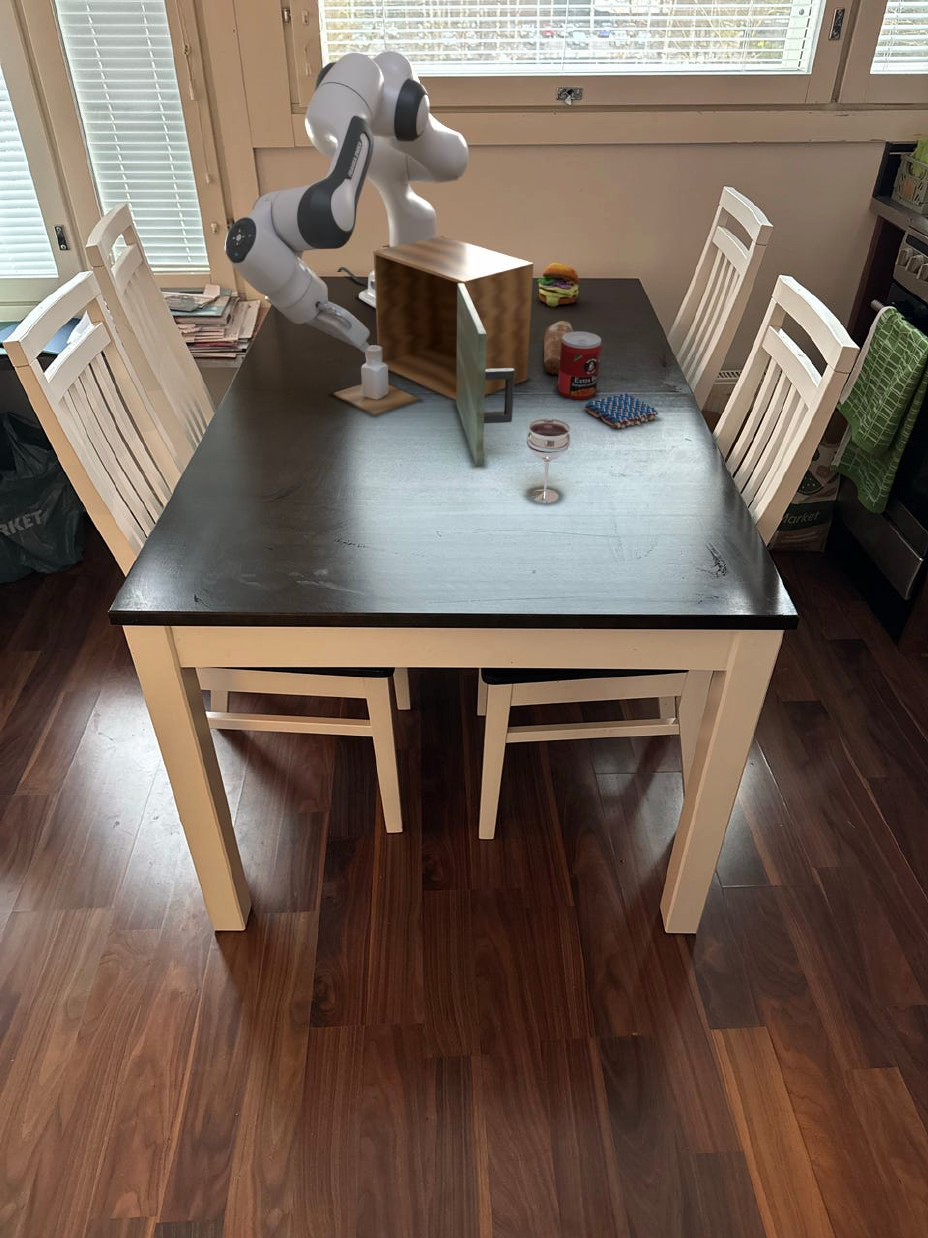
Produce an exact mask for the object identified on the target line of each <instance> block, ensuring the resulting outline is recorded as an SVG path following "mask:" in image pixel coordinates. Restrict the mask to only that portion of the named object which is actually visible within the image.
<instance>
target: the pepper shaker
mask: <svg viewBox="0 0 928 1238" xmlns="http://www.w3.org/2000/svg"><path fill="white" fill-rule="evenodd" d="M364 353H365V363H364V364H362V365H361V367H360V373H361V374H360V375H361V384H362V394H363V396H365V397H369V398H372V399H376V400H378V399H380V398H382V397H384V396H386V395H388V393H389V385H390V384H389V370H388V366H387V365H386V364H385V363H383V362H382V347H380V346H378V345H376V344H375V345H374V344H373V345H371V344H370V345H369V347H368V349H367V350H366V352H364ZM388 384H389V385H388Z"/></svg>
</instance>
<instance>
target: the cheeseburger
mask: <svg viewBox="0 0 928 1238" xmlns="http://www.w3.org/2000/svg"><path fill="white" fill-rule="evenodd" d="M542 277H543V278H538V280H537V283H538V286H539V289H538V291H539V294H538V299H539V300H540V301H542V302H543V303H544V304H546V305H547V306H549V307H552V308H555V307H557V306H560V305H568V304H573V303H575V302H576V300H577V297H578V295H579V290H578V289H579V285H578V284H579V283H581V280H580V279H579V274H578V271H577V270H576V269H575V268H574V267H571V266H568V265H566V264H564V263H559V262H553V263H550V264H548V266H547V267H546V268H545V269H544V270H543V273H542Z"/></svg>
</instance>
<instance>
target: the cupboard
mask: <svg viewBox="0 0 928 1238" xmlns="http://www.w3.org/2000/svg"><path fill="white" fill-rule="evenodd" d="M372 251H373V270H374V274H375V297H376V308H375V316H376V318H375V321H376V341H377V346H380V347H382V362H383V363H385V364H386V365H387V366H388V371H390V372H392V373H394V374H397V375H400V376H402V377H404V378H406V379H408V380H410V381H413V382H415V383H417V384H419V385H421V386H424V387H426V388H428V389H430V390H432V391H435V392H436V393H439V394H441V395H443V396H446V397H448V398H450V399H452V400H455V401H456V383H457V284H461V283H464V285H465V287H466V289H467V292H468V294H469V296H470V298H471V301H472V303H473V305H474V307H475V309H476V312H477V314H478V316H479V318H480V321H481V323H482V325H483V327H484V329H485V332H486V334H487V335H486V369H499V368H513V369H514V370H515V371H514V385H516V384H520V383H522V382H525V381H527V380H528V369H529V368H528V367H529V353H530V351H529V349H530V335H531V334H530V333H531V332H530V331H531V317H532V316H531V315H532V313H531V312H532V300H533V299H532V298H533V297H532V295H533V280H534V263H533V262H530V261H527V260H525V259H522V258H521V259H520V258H518V257H515V256H511V255H507V254H505V253H502V252H499V251H498V252H497V251H494V250H491V249H488V248H484V247H481V246H478V245H474V244H471V243H467V242H464V241H461V240H457V239H454V238H451V237H448V236H444V235H438V236H436V237H434V238H430V239H425V240H421V241H416V242H412V243H407V244H403V245H398V246H394V247H389V248H387V247H384V248H381V249H375V250H372ZM505 381H506V379H504V380H485V396H487V395H488V394H489V395H490V394H493V393H495V392H498V391H500V390H502V389H505Z"/></svg>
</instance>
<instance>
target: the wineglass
mask: <svg viewBox="0 0 928 1238" xmlns="http://www.w3.org/2000/svg"><path fill="white" fill-rule="evenodd" d="M527 428H528V433H527V437H526V444H527V446H528V449H529V451H530V452H531V454H532V455H534V456H535V457H536V458H538V459H541V460H542V461H543V462H544V467H543V468H544V470H543V471H544V473H543V488H540V489H539V488H538V489H535V490H532V491H531V493H530V498H531V499H533V500H534V501H536V502H539V503H543V504H545V503H547V504H548V503H552V502H556V501H557V500H559V494H558V492H556V491H554V490H552V489H548V488H547V486H548V478H549V472H550V471H549V470H550V462H552V461H554V460H557V459H559V458H560V457H562V456H563V455H565V454H566V453H567V451H568V450H569V447H570V445H571V435H570V433H571V431H572V427H571V425H570V424H569V423H567V422H566V421H563V420H560V419H555V418H539V419H535V420H533V421H531V422H530V423H529V424H528V426H527Z"/></svg>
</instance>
